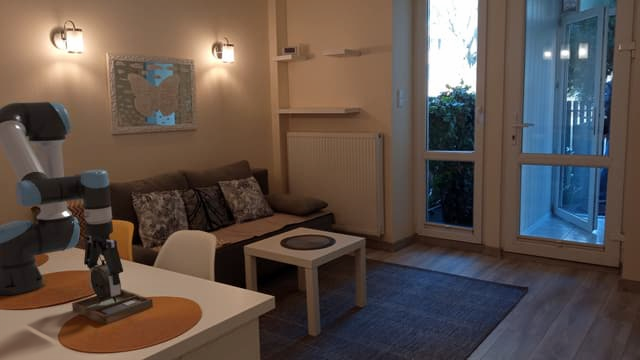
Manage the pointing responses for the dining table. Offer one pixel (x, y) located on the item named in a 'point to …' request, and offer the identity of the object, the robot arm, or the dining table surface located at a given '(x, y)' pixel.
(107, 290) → the alarm clock
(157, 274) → the dining table surface
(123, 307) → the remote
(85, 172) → the robot arm
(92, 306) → the organizer tray
